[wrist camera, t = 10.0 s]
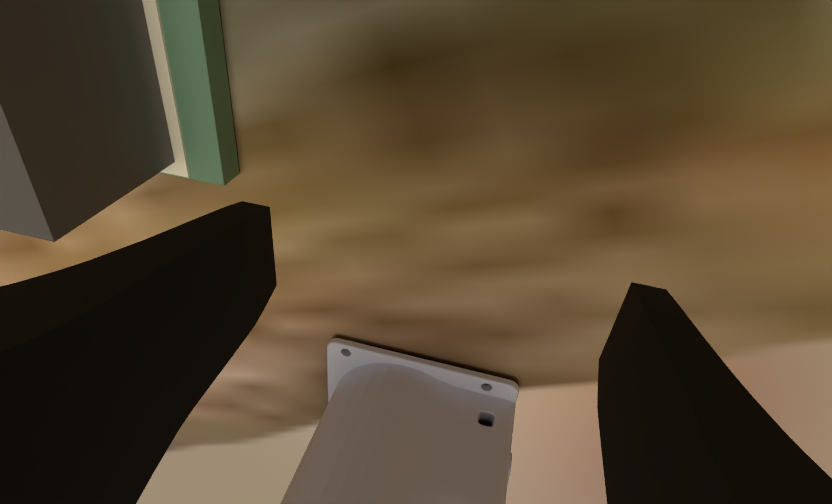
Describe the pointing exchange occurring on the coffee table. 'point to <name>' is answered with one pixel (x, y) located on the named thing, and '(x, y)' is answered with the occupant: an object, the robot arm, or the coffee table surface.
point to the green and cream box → (194, 88)
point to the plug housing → (75, 111)
